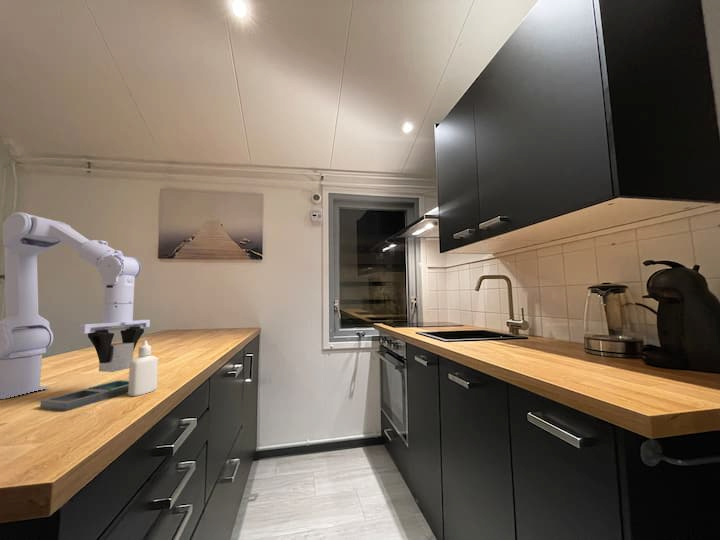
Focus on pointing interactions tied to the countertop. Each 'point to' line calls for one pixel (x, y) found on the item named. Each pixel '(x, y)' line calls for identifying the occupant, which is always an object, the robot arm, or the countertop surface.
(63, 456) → the countertop surface
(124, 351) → the block
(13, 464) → the countertop surface
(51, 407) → the grey flat frame
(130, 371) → the eye dropper bottle
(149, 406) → the countertop surface
